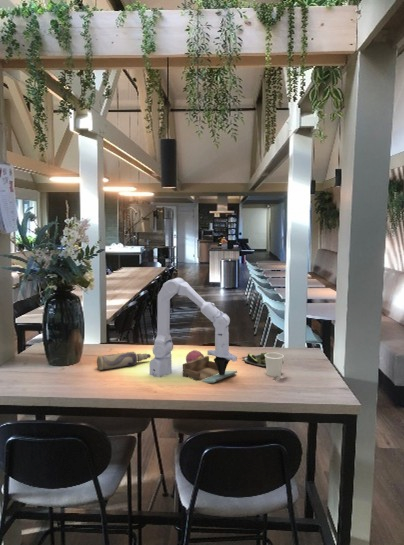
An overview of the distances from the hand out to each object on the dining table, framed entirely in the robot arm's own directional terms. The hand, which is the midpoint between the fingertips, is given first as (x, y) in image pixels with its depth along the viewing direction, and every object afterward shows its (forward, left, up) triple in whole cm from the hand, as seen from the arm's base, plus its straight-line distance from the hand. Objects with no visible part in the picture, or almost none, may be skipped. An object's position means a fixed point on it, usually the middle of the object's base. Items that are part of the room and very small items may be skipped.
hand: (222, 374), depth 185 cm
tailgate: (0, +5, -2) cm, 5 cm away
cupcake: (+8, +24, -1) cm, 25 cm away
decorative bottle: (-14, +48, -4) cm, 50 cm away
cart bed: (0, +10, -3) cm, 11 cm away
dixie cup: (+19, -14, -3) cm, 24 cm away
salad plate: (+34, +2, -4) cm, 34 cm away
